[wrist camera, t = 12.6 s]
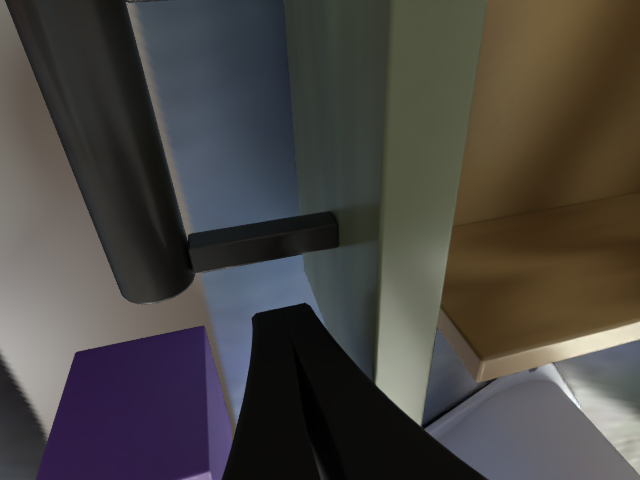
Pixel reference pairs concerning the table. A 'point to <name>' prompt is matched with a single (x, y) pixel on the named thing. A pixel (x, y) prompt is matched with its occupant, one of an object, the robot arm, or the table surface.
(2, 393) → the table surface
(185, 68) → the table surface
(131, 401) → the purple box
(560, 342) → the drawer
